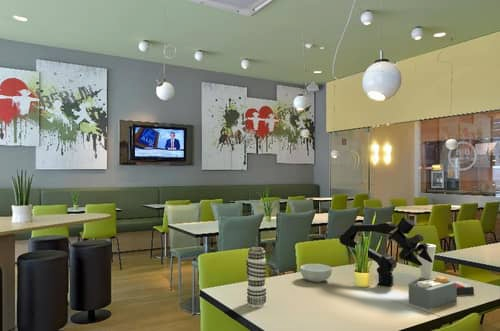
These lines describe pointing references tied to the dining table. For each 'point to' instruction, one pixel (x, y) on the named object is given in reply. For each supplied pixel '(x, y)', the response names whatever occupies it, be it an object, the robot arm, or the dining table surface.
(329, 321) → the dining table surface
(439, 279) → the orange button
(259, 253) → the decorative candle
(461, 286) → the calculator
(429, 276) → the cup
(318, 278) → the cereal bowl
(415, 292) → the button console
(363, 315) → the dining table surface
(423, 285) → the grey button
